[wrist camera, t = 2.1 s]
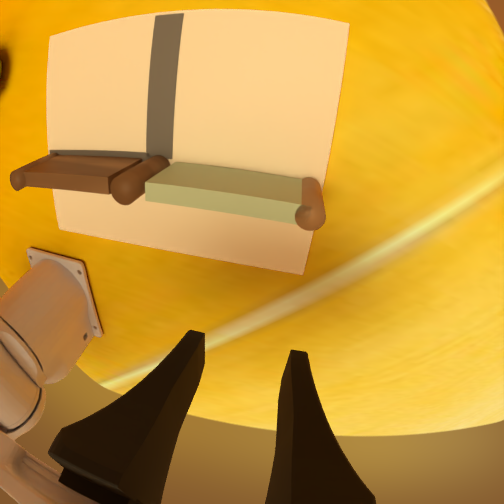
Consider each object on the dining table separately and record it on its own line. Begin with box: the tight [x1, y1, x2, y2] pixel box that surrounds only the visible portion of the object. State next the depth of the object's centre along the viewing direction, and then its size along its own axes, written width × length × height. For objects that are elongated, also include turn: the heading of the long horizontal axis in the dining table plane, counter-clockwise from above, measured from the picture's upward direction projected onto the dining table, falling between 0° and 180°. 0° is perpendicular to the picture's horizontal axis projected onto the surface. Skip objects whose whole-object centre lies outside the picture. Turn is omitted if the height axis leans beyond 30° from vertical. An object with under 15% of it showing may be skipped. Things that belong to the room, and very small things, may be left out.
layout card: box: [47, 9, 349, 275], centre depth 17 cm, size 16×20×1 cm
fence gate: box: [145, 162, 326, 231], centre depth 15 cm, size 9×1×4 cm, turn 84°
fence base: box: [10, 153, 170, 205], centre depth 16 cm, size 2×11×4 cm, turn 83°
